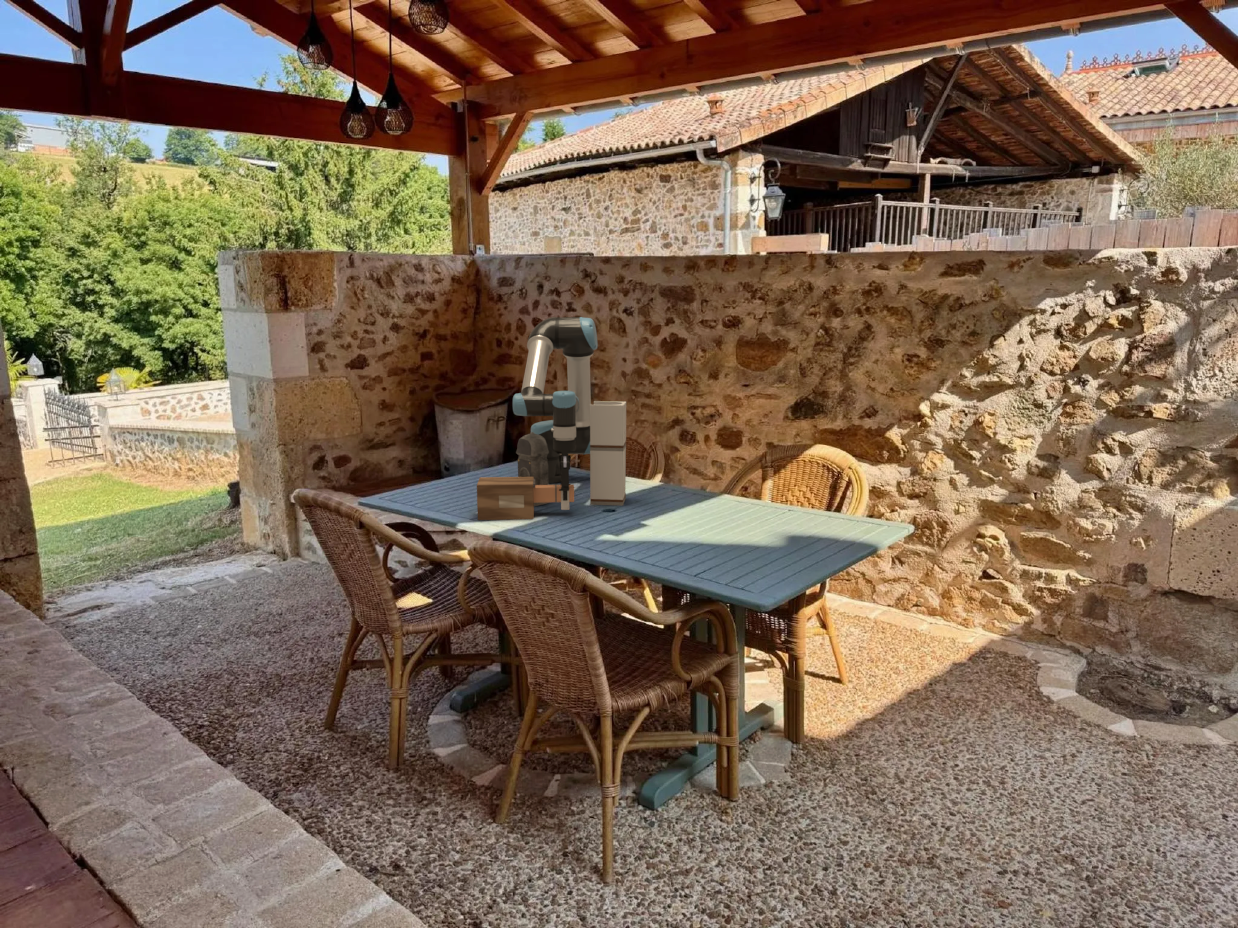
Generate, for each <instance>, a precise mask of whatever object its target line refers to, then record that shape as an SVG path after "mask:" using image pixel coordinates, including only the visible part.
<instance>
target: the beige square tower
mask: <svg viewBox="0 0 1238 928" xmlns="http://www.w3.org/2000/svg"><path fill="white" fill-rule="evenodd" d="M626 450H627V401H610V400H609V401H606V400H605V401H603V400H602V401H601V400H594V401H593V404H591V405H590V454H589V459H590V460H589V461H590V462H589V463H590V464H589V470H590V471H589V472H590V473H589V478H590V479H589V482H590V489H589V491H590V492H589V493H590V501H589V503H590V504H589V505H590V506H592V505H593V506H620V507H621V506H624V504H625V501H626V497H627V495H626V494H627V493H626V482H627V481H626V467H627V466H626V464H627V463H626V462H627V461H626V454H627V453H626Z"/></svg>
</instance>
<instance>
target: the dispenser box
mask: <svg viewBox="0 0 1238 928" xmlns="http://www.w3.org/2000/svg"><path fill="white" fill-rule="evenodd" d="M533 487H535V479H534V477H518V476H492V477H489V476H488V477H482V476H481V477H480V476H479V478H478V480H477V484H476V505H477V508H476V509H477V521H481V520H482V521H489V520H490V521H497V520H534V519H535V518H534V517H535V506H534V500H533Z"/></svg>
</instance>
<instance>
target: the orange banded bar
mask: <svg viewBox="0 0 1238 928" xmlns="http://www.w3.org/2000/svg"><path fill="white" fill-rule="evenodd" d="M559 489H561V484H548V485H535V487H533V500H534V503H541V502H550V503H561V491H559ZM574 502H575V485H574V484H571V485H569V503H574Z"/></svg>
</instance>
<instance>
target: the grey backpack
mask: <svg viewBox="0 0 1238 928" xmlns="http://www.w3.org/2000/svg"><path fill="white" fill-rule="evenodd" d="M516 447H517V449H516V451H515V454H517V455H518V458H517V477H534V479H535V485H549V483H548V461H547V454H548V453H549V451H548V447H547V443H546V440H545V438H543V437H542V436H540V435H538V434H535V433H534V432H531V431H530V433H528V434H525V435H523V436H522V437H520V438H519V439H518V442H517V446H516ZM550 503H551V502H541V503H534V507H537V506H542V505H547V504H550Z"/></svg>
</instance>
